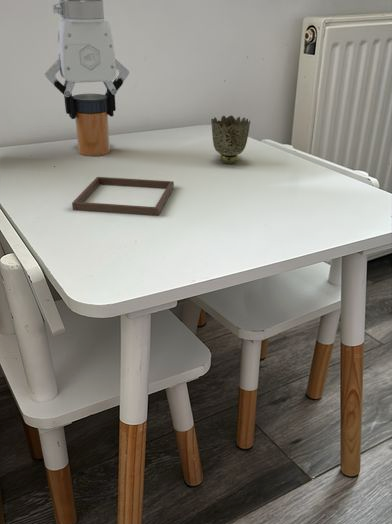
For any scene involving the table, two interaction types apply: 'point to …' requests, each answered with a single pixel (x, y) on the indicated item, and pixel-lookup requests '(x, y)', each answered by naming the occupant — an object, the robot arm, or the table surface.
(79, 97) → the lid
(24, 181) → the table surface
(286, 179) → the table surface
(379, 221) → the table surface
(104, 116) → the jar
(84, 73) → the robot arm
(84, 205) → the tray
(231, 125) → the cup
